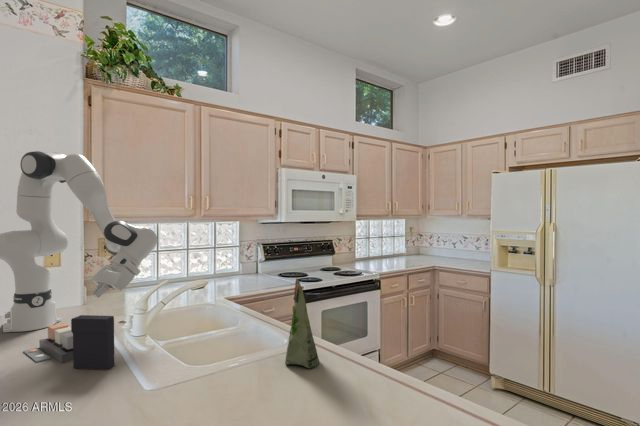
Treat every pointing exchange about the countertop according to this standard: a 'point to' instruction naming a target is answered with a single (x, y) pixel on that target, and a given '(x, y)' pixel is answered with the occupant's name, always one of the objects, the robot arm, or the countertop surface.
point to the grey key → (67, 340)
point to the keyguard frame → (56, 350)
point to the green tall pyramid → (301, 334)
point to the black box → (93, 342)
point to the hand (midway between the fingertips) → (95, 296)
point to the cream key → (59, 334)
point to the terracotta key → (55, 327)
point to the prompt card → (36, 355)
